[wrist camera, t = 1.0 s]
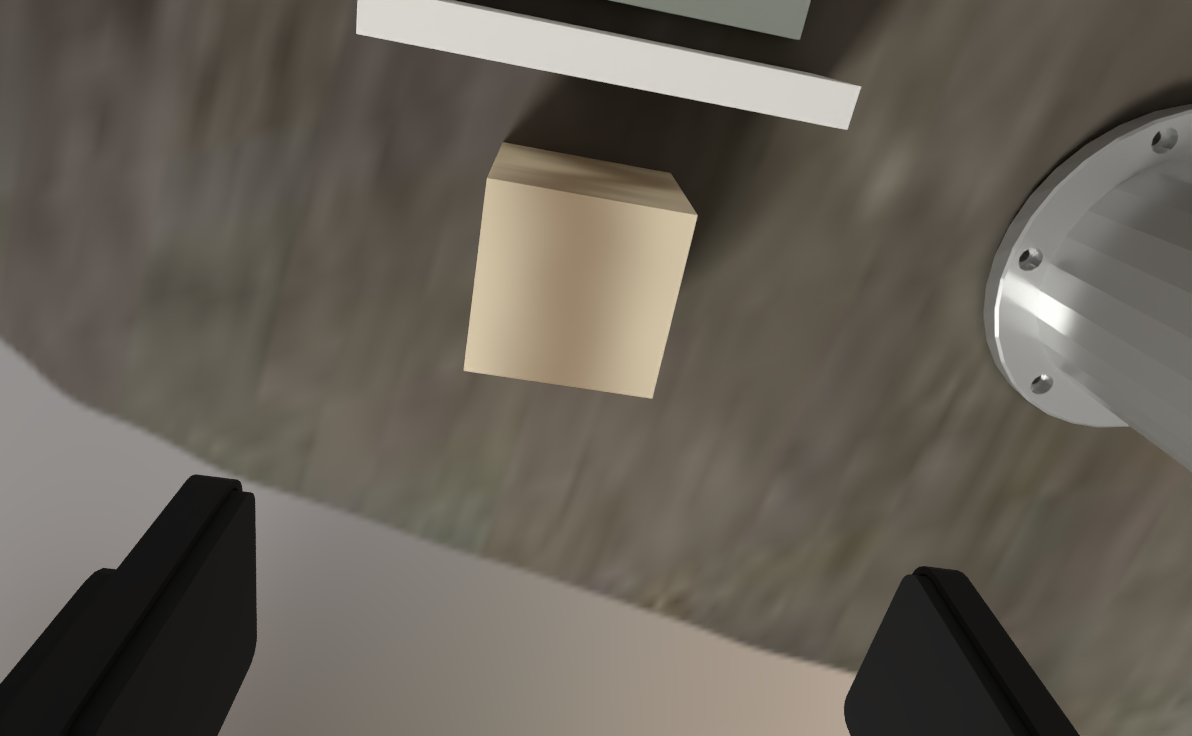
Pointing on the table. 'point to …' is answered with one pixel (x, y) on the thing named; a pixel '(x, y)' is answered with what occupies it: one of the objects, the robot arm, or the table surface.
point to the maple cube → (577, 271)
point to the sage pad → (739, 13)
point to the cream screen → (609, 58)
